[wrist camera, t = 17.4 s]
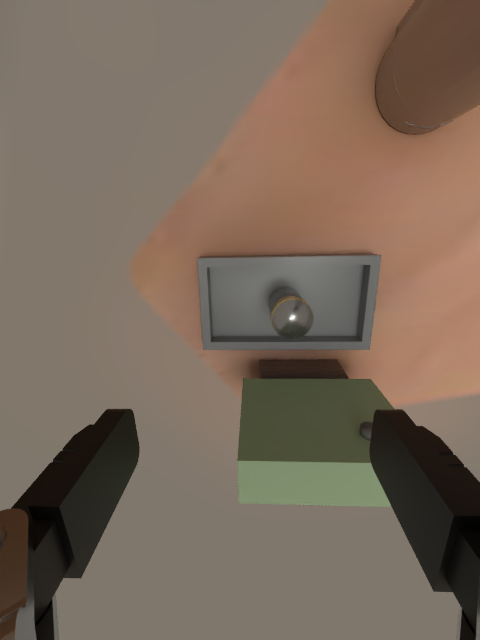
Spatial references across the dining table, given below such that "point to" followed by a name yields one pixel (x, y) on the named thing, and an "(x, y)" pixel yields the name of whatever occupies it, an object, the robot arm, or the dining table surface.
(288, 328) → the pin
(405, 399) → the dining table surface
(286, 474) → the control unit
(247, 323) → the parts tray
